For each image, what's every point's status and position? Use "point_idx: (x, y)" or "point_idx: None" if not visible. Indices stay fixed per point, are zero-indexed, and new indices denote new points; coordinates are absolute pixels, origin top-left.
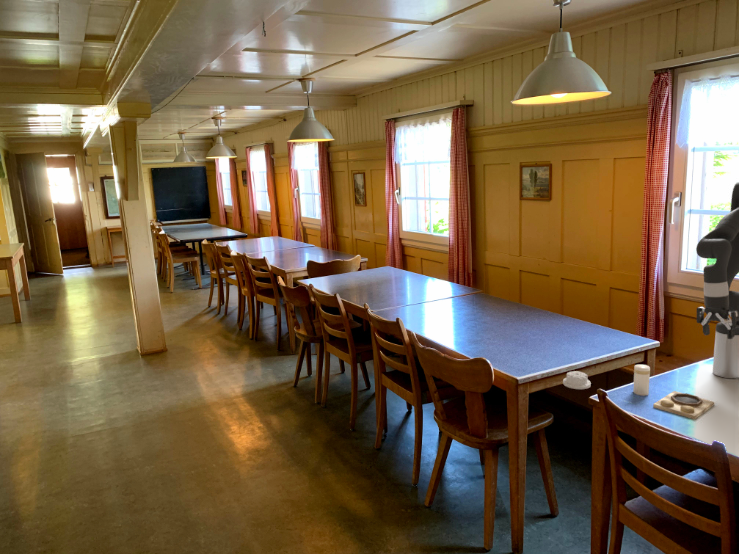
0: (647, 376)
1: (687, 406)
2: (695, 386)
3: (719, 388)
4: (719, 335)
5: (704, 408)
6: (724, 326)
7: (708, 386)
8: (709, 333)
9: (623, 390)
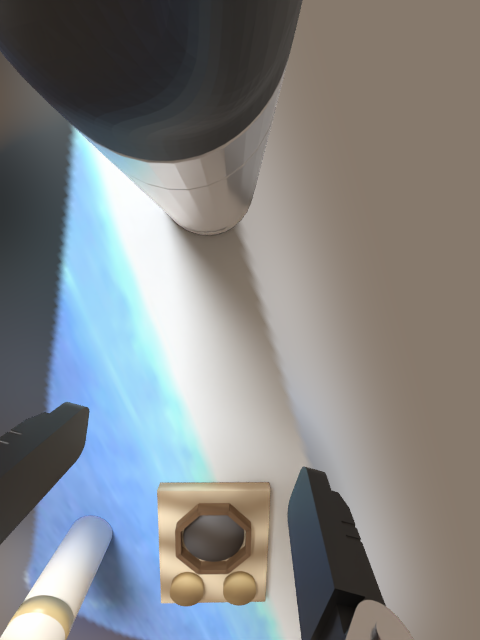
0: (77, 613)
1: (235, 583)
2: (177, 382)
3: (237, 349)
4: (112, 156)
5: (266, 548)
6: (104, 103)
7: (206, 355)
8: (83, 411)
9: (49, 548)
